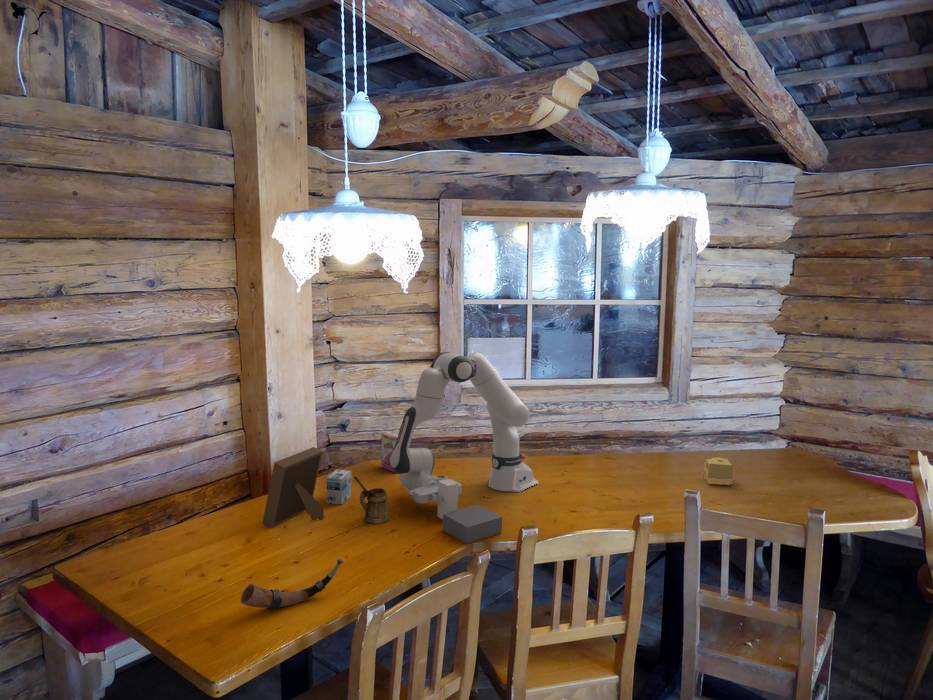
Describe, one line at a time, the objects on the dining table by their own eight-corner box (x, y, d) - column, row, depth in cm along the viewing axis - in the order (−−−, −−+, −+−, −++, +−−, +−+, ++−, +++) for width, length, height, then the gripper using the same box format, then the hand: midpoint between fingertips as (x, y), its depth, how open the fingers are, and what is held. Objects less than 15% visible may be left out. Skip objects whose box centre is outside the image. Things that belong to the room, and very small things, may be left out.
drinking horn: (238, 613, 193) (238, 579, 192) (338, 585, 210) (338, 554, 208) (245, 622, 189) (244, 588, 187) (346, 593, 205) (346, 561, 204)
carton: (448, 513, 267) (448, 478, 265) (457, 518, 263) (458, 483, 260) (437, 516, 264) (438, 481, 262) (446, 521, 260) (447, 485, 257)
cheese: (702, 477, 318) (704, 456, 317) (726, 479, 317) (728, 457, 315) (706, 485, 308) (708, 463, 306) (732, 487, 307) (734, 465, 305)
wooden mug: (350, 518, 260) (350, 472, 257) (384, 513, 266) (385, 468, 263) (356, 527, 252) (356, 480, 249) (392, 522, 258) (392, 475, 255)
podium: (477, 519, 262) (477, 504, 261) (501, 532, 251) (502, 517, 250) (442, 529, 252) (443, 514, 251) (466, 543, 241) (467, 527, 241)
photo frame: (262, 526, 251) (261, 459, 247) (301, 506, 270) (301, 444, 266) (294, 535, 244) (295, 467, 240) (332, 514, 264) (333, 451, 260)
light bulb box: (342, 505, 272) (342, 479, 271) (325, 503, 274) (325, 477, 272) (351, 495, 283) (351, 470, 281) (336, 494, 284) (336, 468, 282)
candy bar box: (380, 468, 318) (380, 433, 315) (388, 465, 321) (389, 431, 319) (396, 474, 310) (396, 438, 308) (404, 471, 314) (405, 436, 311)
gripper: (406, 484, 265) (426, 495, 255) (449, 474, 278) (470, 484, 267) (405, 500, 266) (426, 512, 256) (448, 489, 279) (470, 500, 268)
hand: (449, 498), depth 261 cm, fingers closed on carton, 5 cm apart
